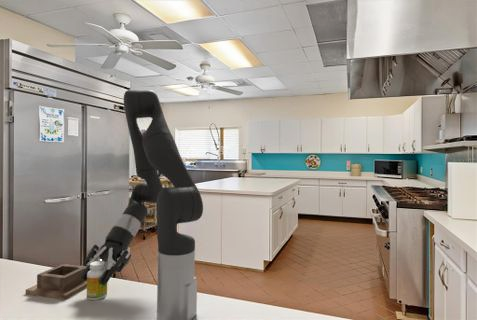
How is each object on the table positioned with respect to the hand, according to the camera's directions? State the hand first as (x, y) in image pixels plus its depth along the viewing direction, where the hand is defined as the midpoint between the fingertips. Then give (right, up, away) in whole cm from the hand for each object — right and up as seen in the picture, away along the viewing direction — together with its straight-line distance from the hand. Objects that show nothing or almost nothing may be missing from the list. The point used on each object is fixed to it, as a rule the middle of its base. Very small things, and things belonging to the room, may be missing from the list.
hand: (92, 281), depth 84 cm
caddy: (-13, -5, +7) cm, 15 cm away
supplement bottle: (+1, -5, +2) cm, 5 cm away
